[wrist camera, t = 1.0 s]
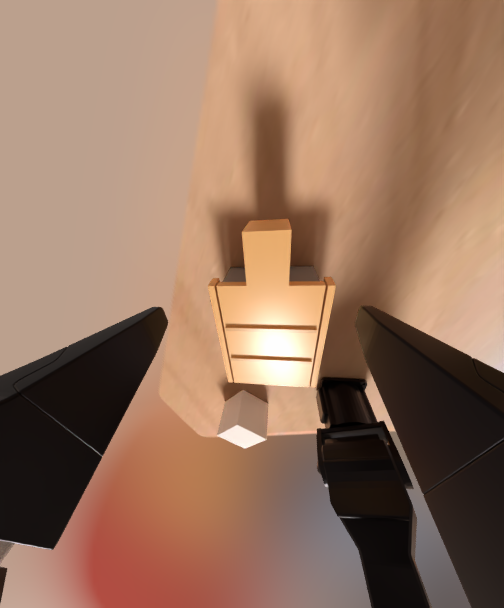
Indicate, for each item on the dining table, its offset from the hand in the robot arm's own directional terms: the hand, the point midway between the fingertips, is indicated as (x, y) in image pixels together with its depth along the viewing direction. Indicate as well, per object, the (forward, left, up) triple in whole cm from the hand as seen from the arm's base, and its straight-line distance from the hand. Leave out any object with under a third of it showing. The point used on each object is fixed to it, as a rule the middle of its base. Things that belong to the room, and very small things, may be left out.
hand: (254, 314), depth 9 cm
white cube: (+5, +30, -13) cm, 33 cm away
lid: (0, +7, -9) cm, 11 cm away
